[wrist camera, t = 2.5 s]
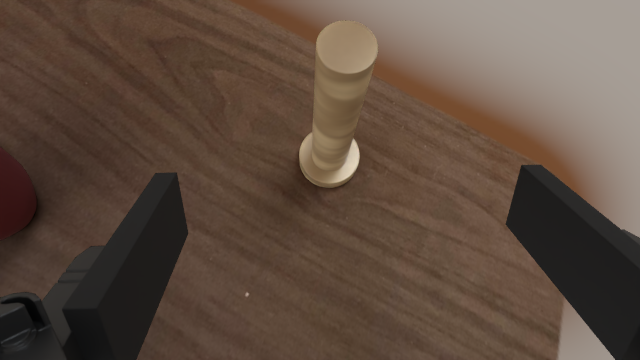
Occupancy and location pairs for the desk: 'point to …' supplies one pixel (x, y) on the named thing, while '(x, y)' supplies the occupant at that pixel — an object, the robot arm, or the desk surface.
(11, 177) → the mug
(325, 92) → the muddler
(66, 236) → the desk surface
